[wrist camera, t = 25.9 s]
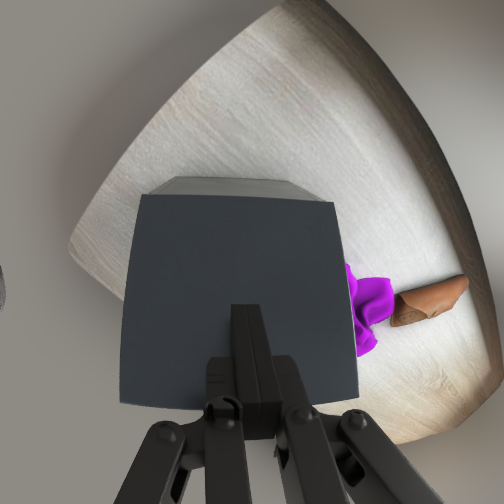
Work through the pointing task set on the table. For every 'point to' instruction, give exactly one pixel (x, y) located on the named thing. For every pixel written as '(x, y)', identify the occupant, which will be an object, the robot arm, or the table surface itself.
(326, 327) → the lid
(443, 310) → the sunglasses case
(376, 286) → the cloth
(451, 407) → the table surface
